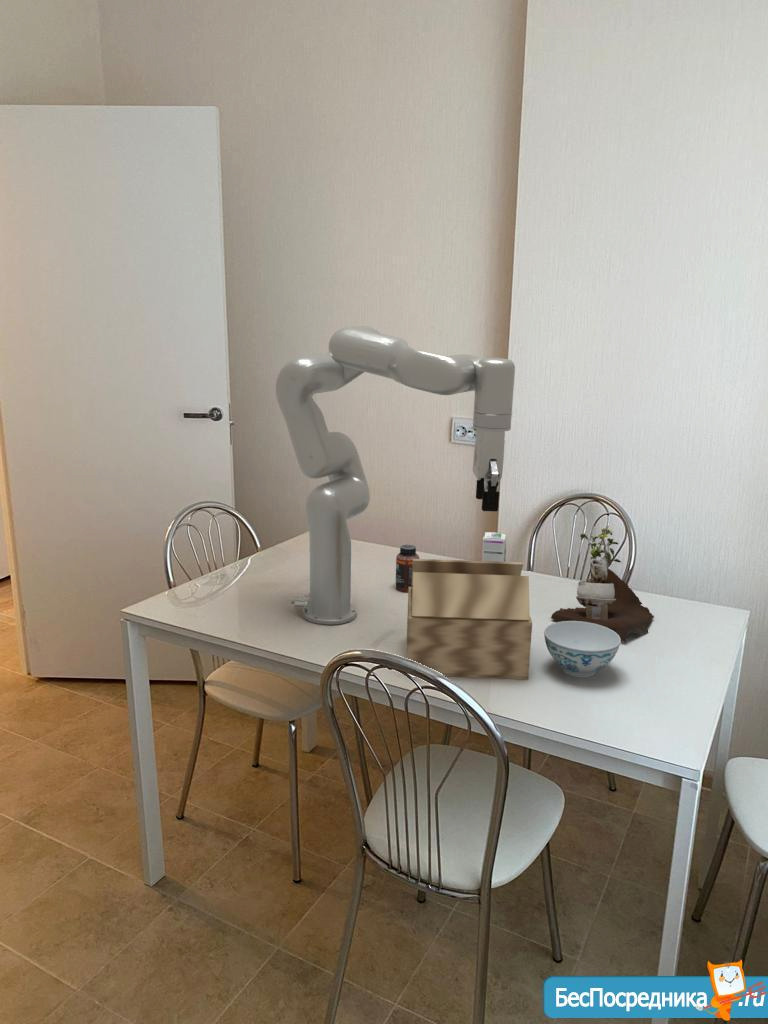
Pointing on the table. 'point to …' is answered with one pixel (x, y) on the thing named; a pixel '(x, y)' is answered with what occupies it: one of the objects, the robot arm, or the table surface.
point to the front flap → (470, 596)
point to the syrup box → (494, 547)
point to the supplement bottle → (405, 567)
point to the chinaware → (581, 646)
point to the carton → (470, 645)
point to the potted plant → (607, 597)
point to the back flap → (466, 567)
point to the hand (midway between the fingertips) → (486, 504)
